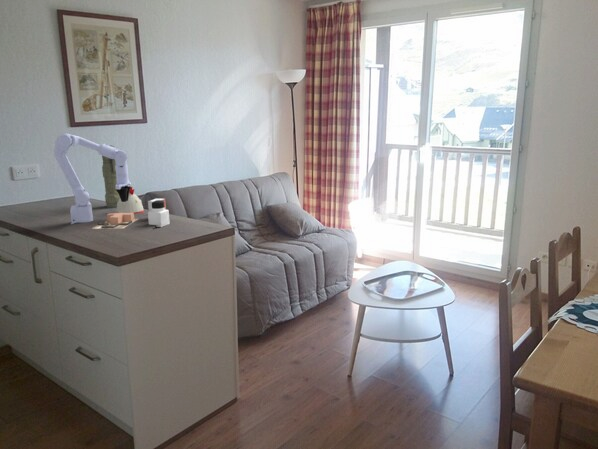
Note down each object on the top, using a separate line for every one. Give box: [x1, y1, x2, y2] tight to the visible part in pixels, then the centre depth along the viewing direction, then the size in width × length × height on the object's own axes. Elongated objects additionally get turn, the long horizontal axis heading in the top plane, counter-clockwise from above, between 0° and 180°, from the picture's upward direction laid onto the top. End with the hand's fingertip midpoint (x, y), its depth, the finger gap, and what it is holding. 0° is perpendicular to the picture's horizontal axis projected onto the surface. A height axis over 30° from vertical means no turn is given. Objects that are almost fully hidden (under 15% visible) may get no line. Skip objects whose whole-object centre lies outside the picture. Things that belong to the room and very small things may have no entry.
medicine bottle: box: [147, 200, 171, 228], centre depth 227 cm, size 7×7×12 cm
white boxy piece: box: [147, 198, 167, 212], centre depth 238 cm, size 8×6×10 cm
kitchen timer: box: [116, 186, 144, 215], centre depth 255 cm, size 14×14×15 cm
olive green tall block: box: [101, 145, 120, 209], centre depth 272 cm, size 9×12×35 cm
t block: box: [106, 212, 135, 224], centre depth 231 cm, size 12×10×4 cm
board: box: [91, 218, 139, 230], centre depth 229 cm, size 15×21×2 cm
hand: (124, 201), depth 240 cm, fingers closed
